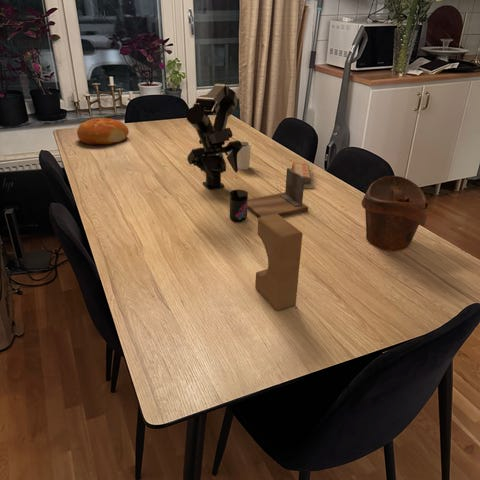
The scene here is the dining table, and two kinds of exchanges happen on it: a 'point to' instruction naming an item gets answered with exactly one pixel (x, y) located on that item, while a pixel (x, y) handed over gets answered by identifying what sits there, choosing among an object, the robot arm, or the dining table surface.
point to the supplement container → (238, 205)
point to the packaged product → (304, 173)
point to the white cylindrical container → (244, 156)
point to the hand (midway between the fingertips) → (225, 174)
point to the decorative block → (279, 261)
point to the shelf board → (281, 199)
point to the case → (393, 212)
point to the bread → (102, 131)
